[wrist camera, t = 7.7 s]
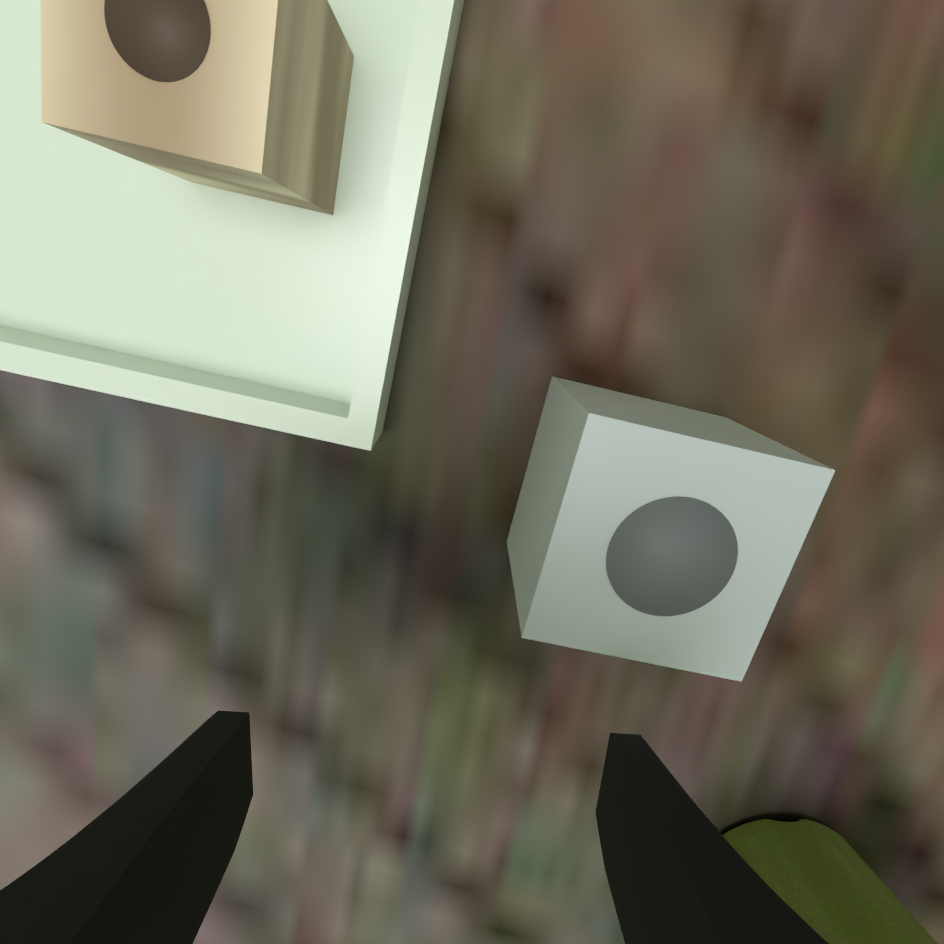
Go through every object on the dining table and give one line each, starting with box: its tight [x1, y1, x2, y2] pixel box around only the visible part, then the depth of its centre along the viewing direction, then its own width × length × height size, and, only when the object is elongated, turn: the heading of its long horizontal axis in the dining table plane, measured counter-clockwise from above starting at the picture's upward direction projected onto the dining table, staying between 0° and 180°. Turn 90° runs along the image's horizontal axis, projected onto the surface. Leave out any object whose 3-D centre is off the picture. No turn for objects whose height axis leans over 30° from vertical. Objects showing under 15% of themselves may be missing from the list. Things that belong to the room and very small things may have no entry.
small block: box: [41, 0, 354, 215], centre depth 13 cm, size 4×4×6 cm
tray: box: [0, 0, 465, 451], centre depth 15 cm, size 16×14×2 cm
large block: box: [507, 376, 835, 682], centre depth 17 cm, size 6×6×6 cm
